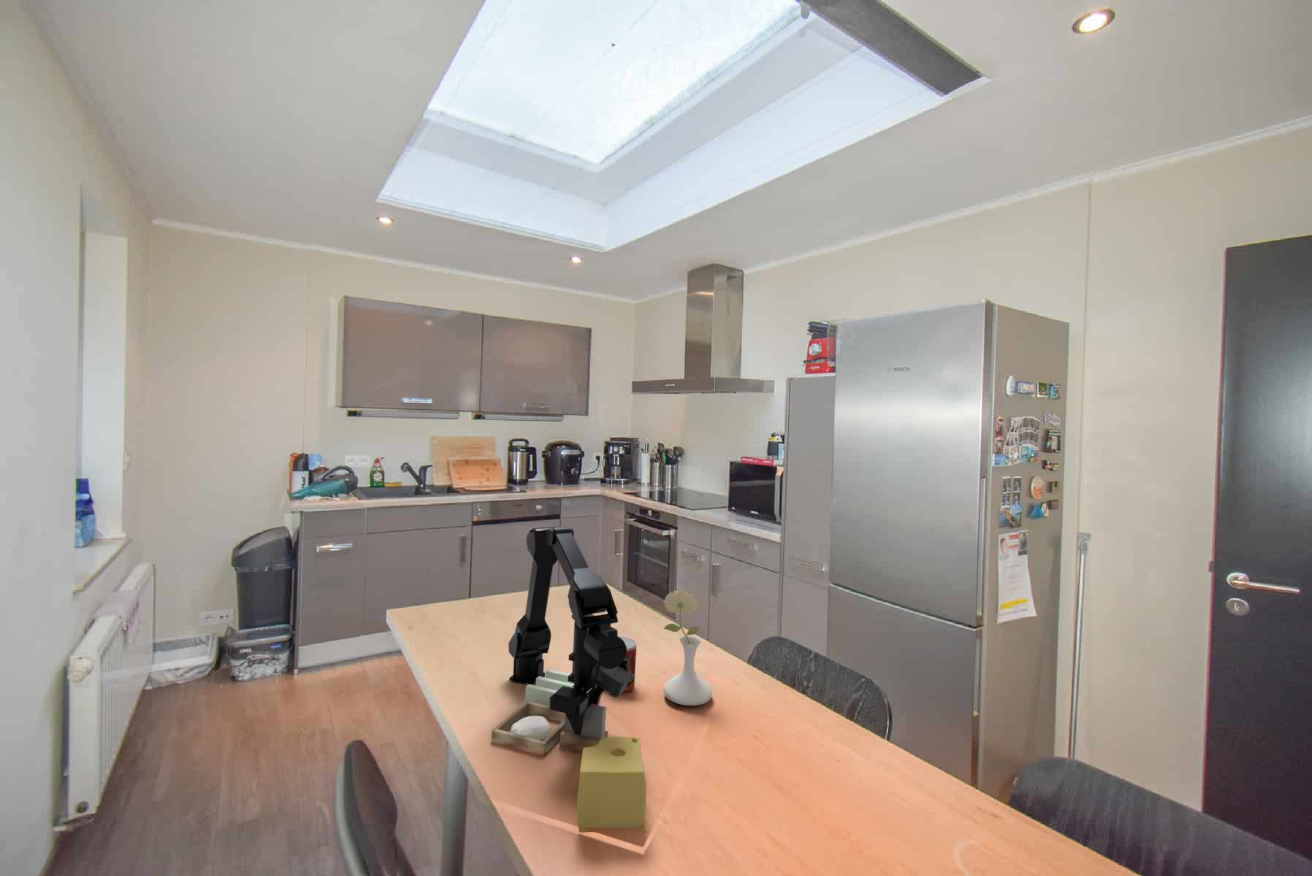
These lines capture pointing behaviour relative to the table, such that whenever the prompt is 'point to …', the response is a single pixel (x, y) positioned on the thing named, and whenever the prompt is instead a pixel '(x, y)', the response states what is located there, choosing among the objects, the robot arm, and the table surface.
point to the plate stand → (576, 742)
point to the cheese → (612, 785)
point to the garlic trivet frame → (526, 743)
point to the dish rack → (547, 686)
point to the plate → (591, 723)
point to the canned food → (632, 658)
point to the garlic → (532, 727)
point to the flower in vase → (686, 656)
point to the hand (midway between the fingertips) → (584, 727)
